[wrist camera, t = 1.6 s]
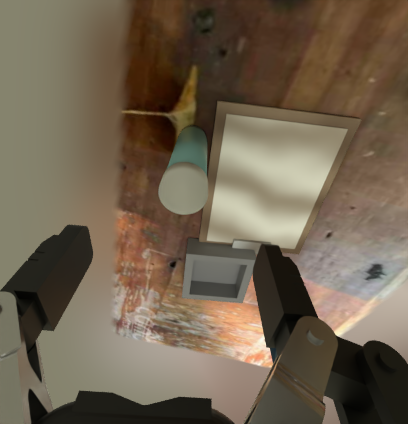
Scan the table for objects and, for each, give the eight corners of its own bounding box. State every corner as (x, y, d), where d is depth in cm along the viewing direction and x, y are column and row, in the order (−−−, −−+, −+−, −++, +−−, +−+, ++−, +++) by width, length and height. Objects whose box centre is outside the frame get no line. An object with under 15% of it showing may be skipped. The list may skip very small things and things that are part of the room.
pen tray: (188, 237, 32) (186, 253, 30) (252, 244, 33) (256, 260, 30) (183, 281, 38) (181, 298, 35) (240, 286, 38) (242, 303, 35)
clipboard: (217, 100, 23) (217, 102, 22) (358, 117, 23) (365, 120, 22) (198, 242, 33) (198, 248, 32) (297, 252, 34) (299, 258, 33)
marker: (178, 121, 24) (158, 168, 14) (210, 125, 24) (211, 174, 15) (176, 151, 26) (158, 212, 16) (206, 155, 26) (205, 216, 16)
